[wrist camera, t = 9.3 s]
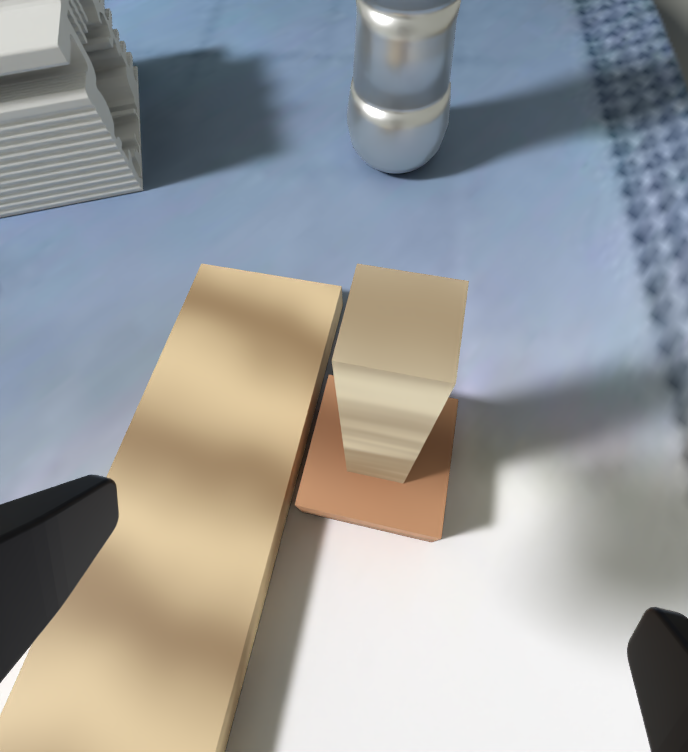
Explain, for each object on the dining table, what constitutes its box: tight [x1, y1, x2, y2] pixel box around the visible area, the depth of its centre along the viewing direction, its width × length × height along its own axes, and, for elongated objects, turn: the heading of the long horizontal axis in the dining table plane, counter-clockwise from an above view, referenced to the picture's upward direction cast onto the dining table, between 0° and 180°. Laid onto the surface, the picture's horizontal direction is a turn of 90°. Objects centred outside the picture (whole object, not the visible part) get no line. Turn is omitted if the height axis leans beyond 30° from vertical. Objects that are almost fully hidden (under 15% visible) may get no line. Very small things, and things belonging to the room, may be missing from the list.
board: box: [0, 264, 343, 752], centre depth 19 cm, size 22×8×2 cm, turn 168°
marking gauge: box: [295, 264, 469, 542], centre depth 14 cm, size 6×6×13 cm
